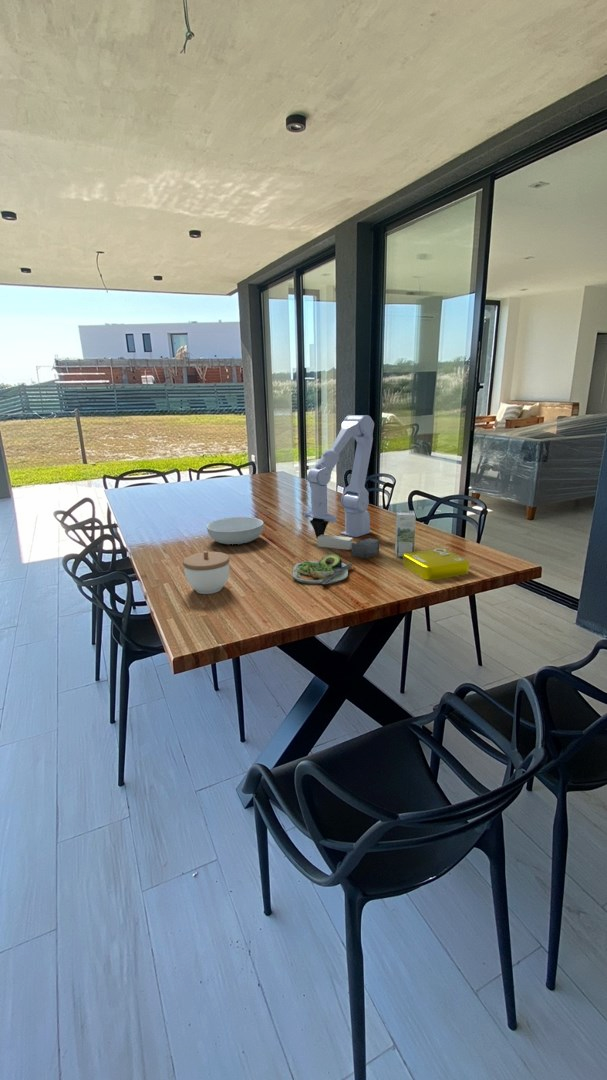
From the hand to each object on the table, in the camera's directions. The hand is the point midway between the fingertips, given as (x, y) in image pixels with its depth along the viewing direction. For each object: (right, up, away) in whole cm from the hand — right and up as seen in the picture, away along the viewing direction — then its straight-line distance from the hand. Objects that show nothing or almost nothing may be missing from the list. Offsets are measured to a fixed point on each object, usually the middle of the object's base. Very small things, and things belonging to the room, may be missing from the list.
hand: (319, 538), depth 178 cm
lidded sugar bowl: (-32, -14, -40) cm, 54 cm away
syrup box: (+27, -6, -16) cm, 32 cm away
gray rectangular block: (+5, -3, -5) cm, 8 cm away
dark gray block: (+15, -5, -14) cm, 21 cm away
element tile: (+34, -10, -30) cm, 46 cm away
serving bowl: (-31, -1, +5) cm, 31 cm away
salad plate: (0, -11, -31) cm, 33 cm away
